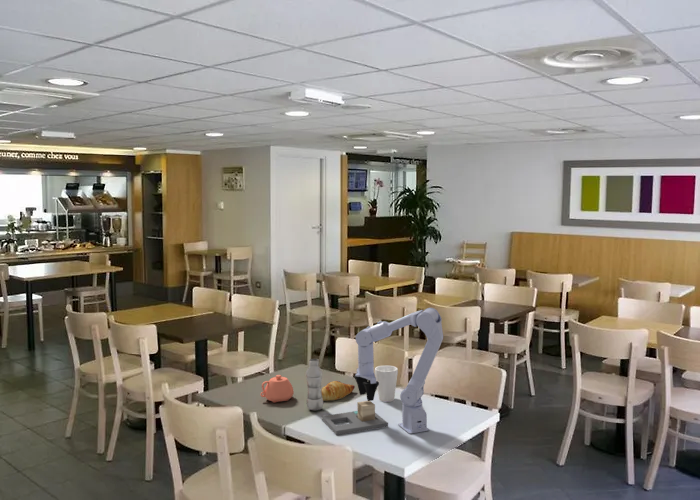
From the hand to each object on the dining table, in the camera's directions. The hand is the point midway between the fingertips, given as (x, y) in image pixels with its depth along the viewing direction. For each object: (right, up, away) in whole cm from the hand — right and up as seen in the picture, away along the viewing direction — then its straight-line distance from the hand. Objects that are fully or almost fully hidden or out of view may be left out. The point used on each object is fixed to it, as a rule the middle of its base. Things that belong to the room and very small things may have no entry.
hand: (366, 397), depth 226 cm
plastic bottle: (-20, -9, +15) cm, 26 cm away
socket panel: (-5, -9, -1) cm, 10 cm away
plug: (0, -9, +1) cm, 9 cm away
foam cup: (+9, -7, +25) cm, 28 cm away
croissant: (-13, -8, +30) cm, 34 cm away
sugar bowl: (-37, -8, +27) cm, 46 cm away
